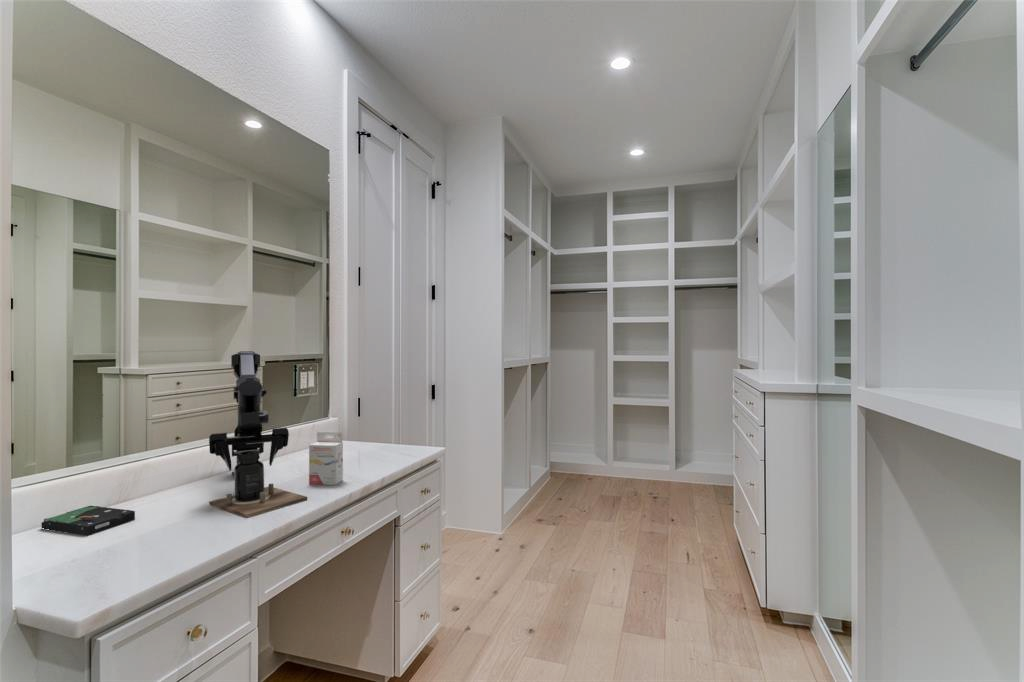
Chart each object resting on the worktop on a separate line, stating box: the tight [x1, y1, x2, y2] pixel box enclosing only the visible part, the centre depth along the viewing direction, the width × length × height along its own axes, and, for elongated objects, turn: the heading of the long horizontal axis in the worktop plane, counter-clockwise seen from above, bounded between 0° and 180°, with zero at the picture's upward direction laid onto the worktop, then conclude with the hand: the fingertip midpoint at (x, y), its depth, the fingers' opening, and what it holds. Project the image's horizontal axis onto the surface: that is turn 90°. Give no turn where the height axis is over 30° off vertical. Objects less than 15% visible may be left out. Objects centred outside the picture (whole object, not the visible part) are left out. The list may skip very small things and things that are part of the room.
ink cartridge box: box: [308, 431, 344, 486], centre depth 146 cm, size 9×5×15 cm, turn 84°
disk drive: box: [41, 505, 136, 537], centre depth 113 cm, size 10×3×15 cm
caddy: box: [208, 483, 308, 519], centre depth 128 cm, size 18×16×3 cm
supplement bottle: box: [233, 451, 265, 502], centre depth 128 cm, size 7×7×12 cm
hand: (250, 467), depth 127 cm, fingers open, 9 cm apart
